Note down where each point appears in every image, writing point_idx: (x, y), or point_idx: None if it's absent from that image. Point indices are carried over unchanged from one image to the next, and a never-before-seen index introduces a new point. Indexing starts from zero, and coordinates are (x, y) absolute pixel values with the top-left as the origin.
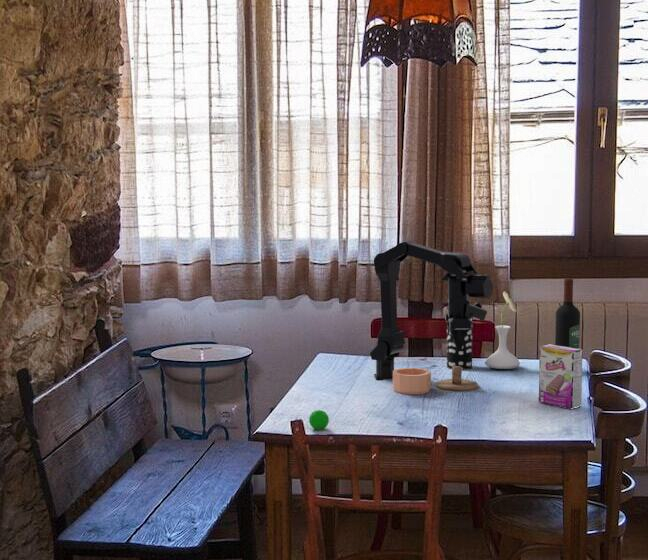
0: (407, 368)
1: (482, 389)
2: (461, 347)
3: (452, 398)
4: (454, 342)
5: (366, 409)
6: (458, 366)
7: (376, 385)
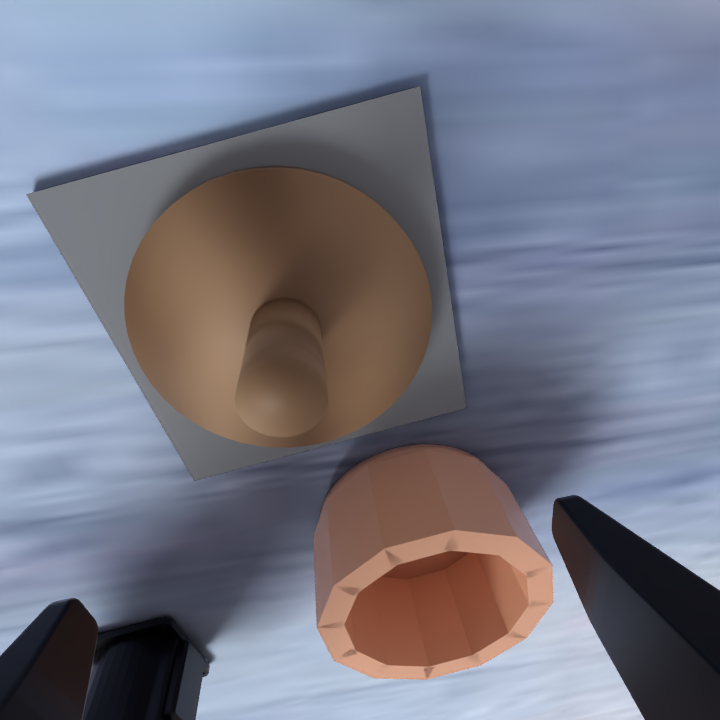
0: (345, 647)
1: (343, 109)
2: (625, 535)
3: (577, 309)
4: (85, 679)
5: (715, 579)
6: (247, 391)
7: (317, 640)
